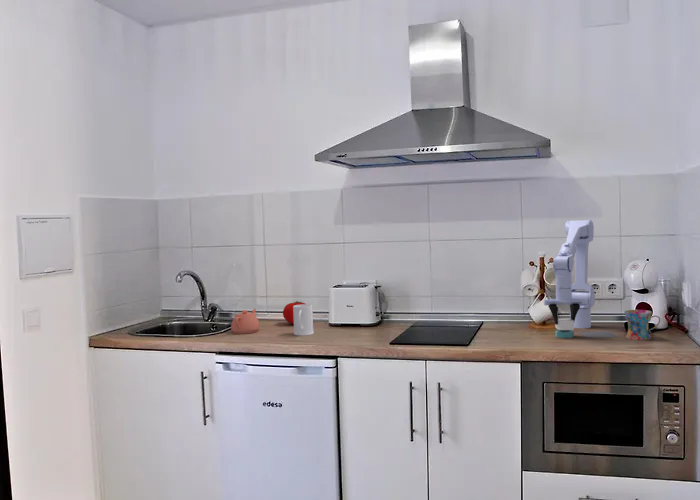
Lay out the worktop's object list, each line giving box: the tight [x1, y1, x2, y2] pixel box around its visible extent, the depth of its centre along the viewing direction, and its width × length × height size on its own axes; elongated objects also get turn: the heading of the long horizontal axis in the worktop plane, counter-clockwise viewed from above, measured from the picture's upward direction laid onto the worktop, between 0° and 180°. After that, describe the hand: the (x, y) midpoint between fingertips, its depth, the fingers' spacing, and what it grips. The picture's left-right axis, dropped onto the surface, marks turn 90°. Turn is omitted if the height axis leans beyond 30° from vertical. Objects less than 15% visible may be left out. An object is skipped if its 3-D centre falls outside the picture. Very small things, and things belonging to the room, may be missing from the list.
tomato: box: [282, 300, 306, 325], centre depth 304 cm, size 13×12×11 cm
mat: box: [577, 330, 620, 339], centre depth 249 cm, size 12×12×1 cm
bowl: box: [554, 329, 575, 339], centre depth 247 cm, size 6×6×3 cm
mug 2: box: [623, 309, 661, 341], centre depth 239 cm, size 12×9×11 cm
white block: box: [554, 317, 575, 331], centre depth 247 cm, size 5×5×3 cm
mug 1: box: [293, 303, 315, 337], centre depth 276 cm, size 12×8×12 cm
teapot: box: [230, 308, 261, 335], centre depth 288 cm, size 12×18×10 cm
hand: (564, 323), depth 247 cm, fingers closed on white block, 5 cm apart
